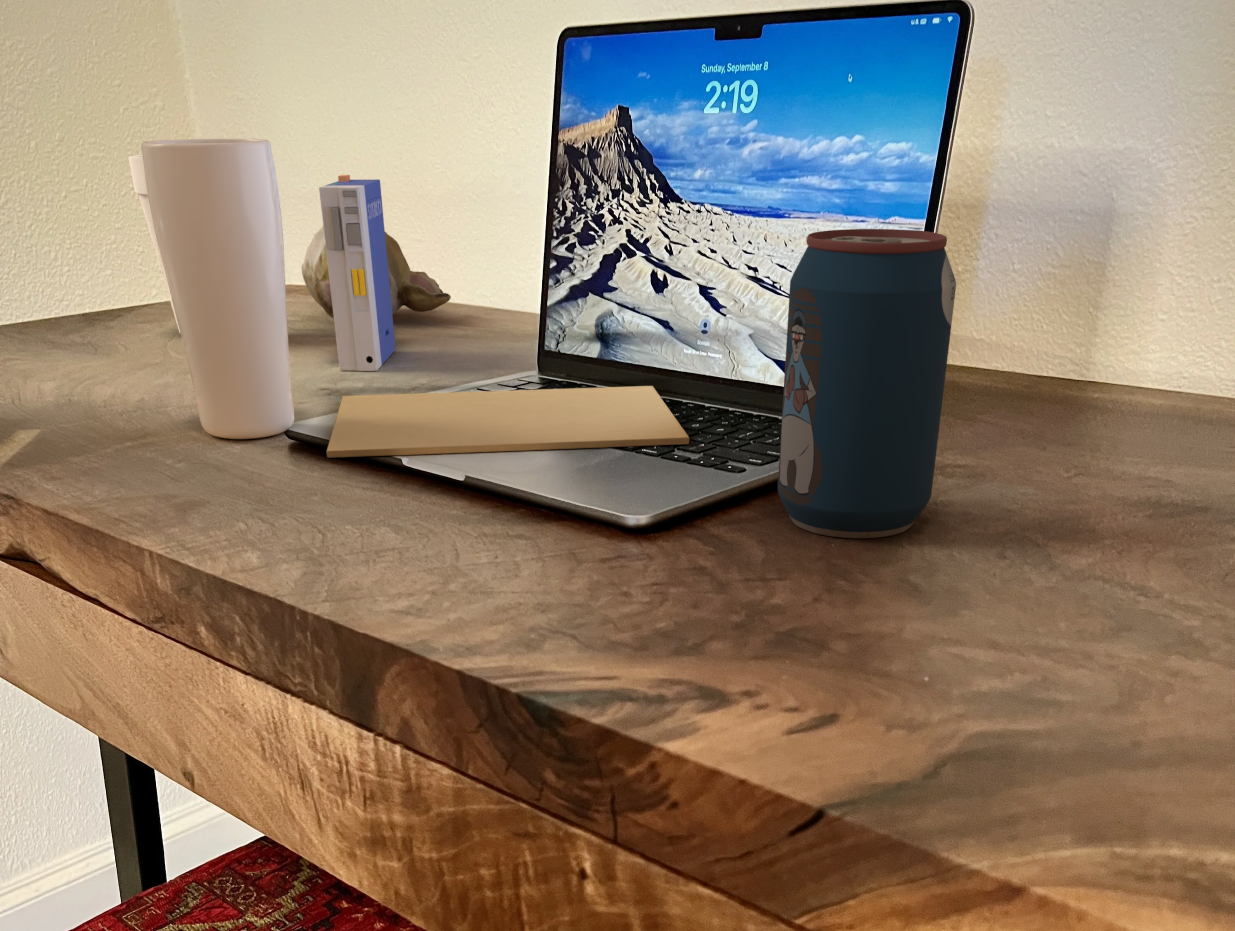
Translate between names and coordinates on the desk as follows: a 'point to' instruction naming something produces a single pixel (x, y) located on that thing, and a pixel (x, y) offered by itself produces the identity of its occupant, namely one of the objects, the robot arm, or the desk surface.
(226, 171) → the white tumbler
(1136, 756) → the desk surface
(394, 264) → the ceramic sculpture
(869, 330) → the soda can
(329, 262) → the walkman
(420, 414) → the cork mat
